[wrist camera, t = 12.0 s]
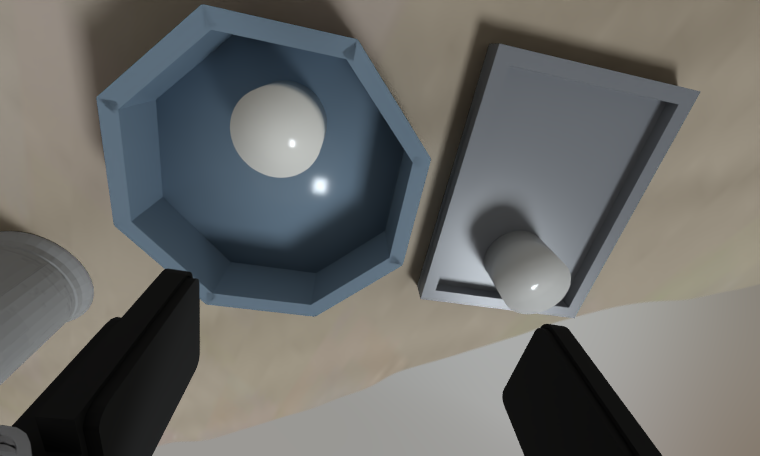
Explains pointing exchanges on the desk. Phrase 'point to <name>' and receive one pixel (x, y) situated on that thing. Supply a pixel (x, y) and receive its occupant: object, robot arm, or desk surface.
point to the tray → (548, 169)
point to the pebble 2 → (526, 272)
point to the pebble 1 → (279, 128)
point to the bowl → (249, 187)
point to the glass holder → (36, 295)
